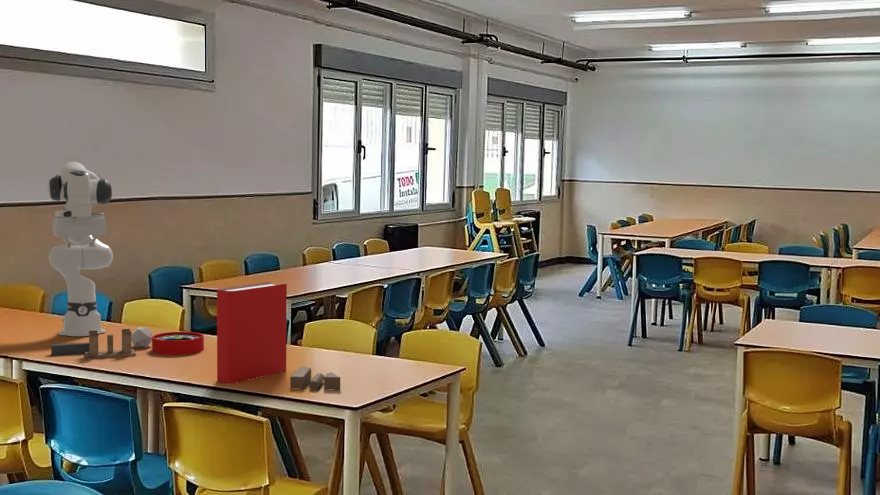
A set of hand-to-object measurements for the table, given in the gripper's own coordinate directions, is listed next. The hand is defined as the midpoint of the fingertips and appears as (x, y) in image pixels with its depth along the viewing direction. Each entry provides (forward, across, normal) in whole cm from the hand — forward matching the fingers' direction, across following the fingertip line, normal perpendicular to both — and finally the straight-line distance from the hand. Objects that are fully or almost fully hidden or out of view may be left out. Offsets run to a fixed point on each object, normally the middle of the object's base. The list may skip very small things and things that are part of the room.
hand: (80, 247), depth 371 cm
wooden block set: (+42, -41, +106) cm, 121 cm away
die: (+41, -21, +9) cm, 47 cm away
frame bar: (+41, +7, +6) cm, 42 cm away
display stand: (+41, -4, +18) cm, 45 cm away
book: (+42, -29, +81) cm, 95 cm away
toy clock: (+41, -30, +24) cm, 56 cm away
